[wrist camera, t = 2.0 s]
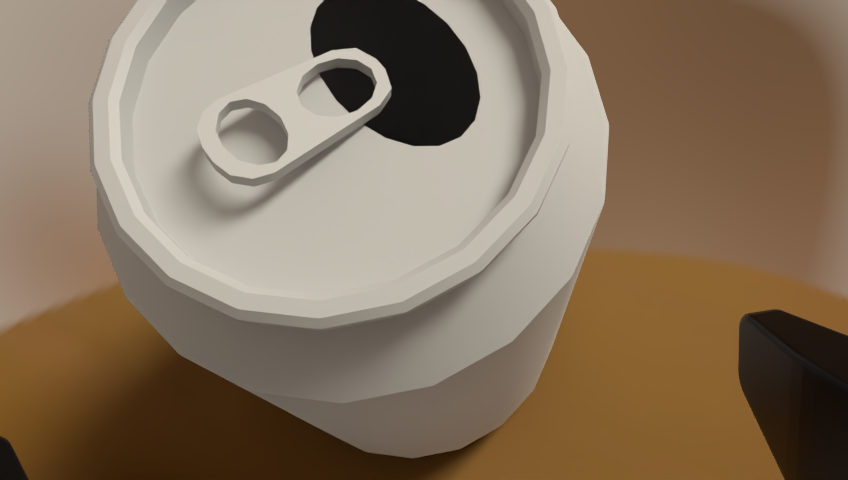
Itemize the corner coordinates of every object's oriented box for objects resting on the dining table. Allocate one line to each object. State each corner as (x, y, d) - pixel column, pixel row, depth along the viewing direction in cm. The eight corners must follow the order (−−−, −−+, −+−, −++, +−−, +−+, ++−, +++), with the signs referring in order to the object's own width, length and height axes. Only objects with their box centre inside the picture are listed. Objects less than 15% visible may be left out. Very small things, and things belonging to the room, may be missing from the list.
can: (612, 339, 20) (769, 109, 9) (384, 524, 19) (228, 532, 8) (438, 143, 22) (385, -236, 11) (226, 296, 21) (-69, 47, 10)
